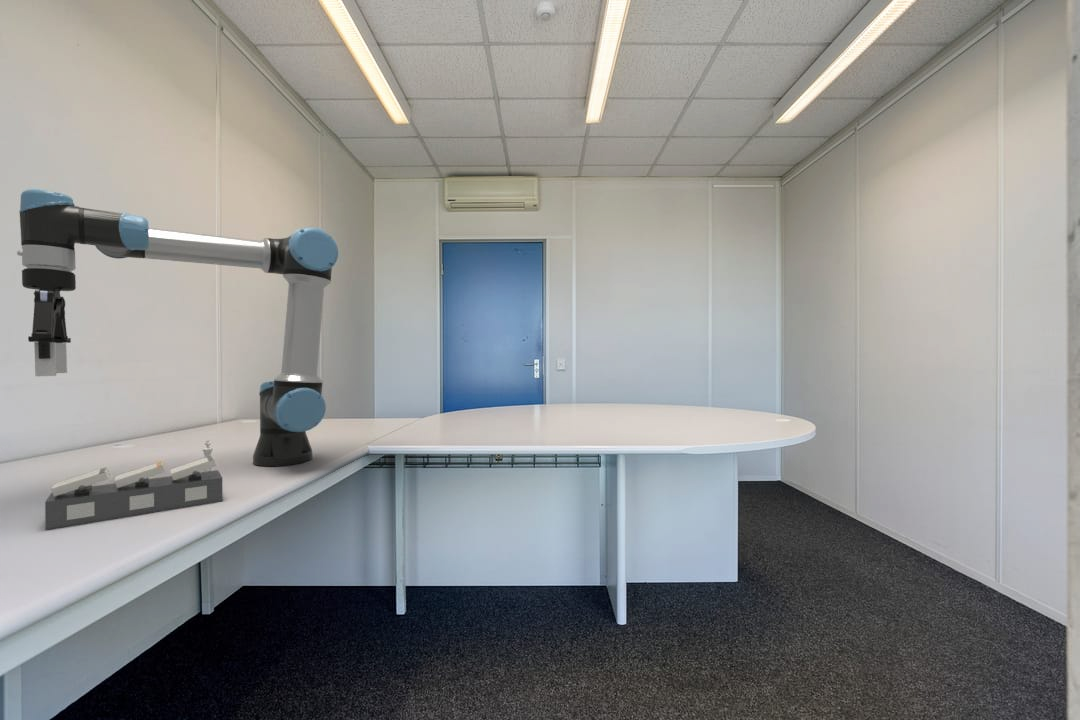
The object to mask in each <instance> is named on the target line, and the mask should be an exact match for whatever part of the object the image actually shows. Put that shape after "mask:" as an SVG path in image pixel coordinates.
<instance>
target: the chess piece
mask: <svg viewBox="0 0 1080 720" xmlns="http://www.w3.org/2000/svg"><path fill="white" fill-rule="evenodd" d="M204 446H205V447H204V448H202V452H203V454H204V457H203V458H202V459H204V458H207V457H209V456H212V455H211V454H212V452H213V447H210V446H211V443H210V440H209V439H207V440H206V441H205V442H204ZM207 471H212V468H209V469H206V470H203V472H207Z"/></svg>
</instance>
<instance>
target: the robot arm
mask: <svg viewBox="0 0 1080 720" xmlns="http://www.w3.org/2000/svg"><path fill="white" fill-rule="evenodd" d="M19 208H20V210H19V226H20V227H19V228H20V242H21V243H20V245H21V249H22V250H18V251H17V252H16V255H18V256H21V265H22V266H23V267H25V268H23V269H22V270H21V284H22V287H23V288H26V289H31V290H34V292H33V295H34V298H33V302H34V305H33V319H32V333H31V336H28V337H27V339H28V342H30V343H31V342H32V343H34V346H33V347H34V373H35V377H56V376H57V374H67V373H68V364H67V363H68V361H67V358H68V357H67V343H70V344H71V342H72V339H71V337H68V333H67V325H66V309H65V308H66V299H65V298H64V296H61V292H73V291H75V290H76V288H77V287H76V286H77V284H76V283H77V281H76V274H75V272H73V271H75V270H76V250H75V244H80V245H88V246H89V245H90V246H95V248H96V249H97V250H98V251H99V252H101V253H102V254H103V255H104V256H106V257H108V258H112V259H117V260H118V259H127V258H134V259H148V260H149V259H150V260H160V261H171V262H183V263H194V264H195V263H196V264H203V265H205V264H206V265H217V266H218V265H219V266H228V267H240V268H242V267H243V268H249V269H250V268H252V269H260V270H262V272H264V273H267V274H277V275H282V277H283V278H284V279H285V280H286V282H288V289H287V299H286V301H287V302H286V312H285V313H286V315H285V326H284V336H283V337H284V338H283V349H282V359H281V372H280V374H278V375H277V376H276V377H275V378H274V379H273V380H271V381H265V382H262V384H261V385H260V388H259V394H258V395H259V421H260V422H259V438H258V441H257V443H256V446H255V449H254V452H253V455H252V464H254V466H259V467H260V466H261V467H280V466H281V467H283V466H290V465H296V464H302V463H306V462H308V461H309V462H310V461H311V460H312V459H313V449H312V445H311V444H310V440H309V437H308V435H307V431H311V430H312V429H314V428H315V427H317V426H318V425H319V424H320V423H321V422H322V420H323V418H324V417H325V414H326V409H327V407H326V406H327V405H326V401H325V399H324V397H323V395H322V393H323V380H322V379H321V378H320V376H319V375H318V367H319V366H318V365H319V355H320V354H319V353H320V344H321V343H320V342H321V333H322V332H321V329H322V319H323V307H324V305H323V304H324V293H325V288H326V287H327V286H328V285H330V284H331V281H332V271H333V267H334V266H335V265H336V263H337V260H338V258H339V249H338V245H337V243H336V241H335V239H333V237H332V236H331V235H330V234H329V233H328V232H326V231H325V230H323V229H321V228H317V227H312V226H311V227H310V226H309V227H303V228H298V229H297V230H295V231H294V232H293V233H291V235H289V236H288V237H283V238H270V237H264V238H263V239H261V240H255V239H246V238H239V237H230V236H222V235H221V236H220V235H214V234H213V235H212V234H205V233H196V232H190V231H189V232H186V231H178V230H171V229H170V230H169V229H162V228H154V227H149V221H148V219H147V217H145V216H141V215H135V214H131V213H128V212H125V213H123V212H115V211H108V210H101V209H93V208H85V207H80V206H76V205H75V203H74V199H73V198H72V197H71V196H69V195H68V194H64V193H62V192H57V191H56V192H55V191H53V190H48V189H47V190H46V189H37V188H32V189H31V188H29V189H26V190H24V191H23V192H21V195H20V207H19Z"/></svg>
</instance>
